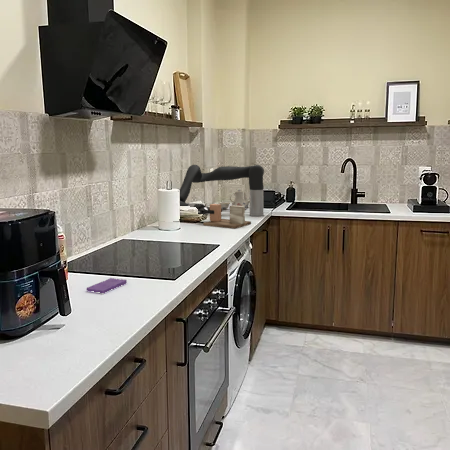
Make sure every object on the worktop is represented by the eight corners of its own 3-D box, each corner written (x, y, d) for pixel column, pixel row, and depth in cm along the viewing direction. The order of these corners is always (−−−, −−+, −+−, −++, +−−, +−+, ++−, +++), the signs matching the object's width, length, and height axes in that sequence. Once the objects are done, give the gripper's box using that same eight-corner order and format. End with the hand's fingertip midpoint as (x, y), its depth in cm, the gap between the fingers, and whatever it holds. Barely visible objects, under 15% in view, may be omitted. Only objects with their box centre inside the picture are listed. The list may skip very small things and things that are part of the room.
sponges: (127, 284, 161) (126, 279, 161) (102, 295, 150) (102, 290, 149) (111, 282, 164) (110, 277, 164) (86, 292, 153) (85, 287, 152)
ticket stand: (220, 220, 287) (220, 202, 285) (251, 223, 275) (251, 204, 273) (203, 225, 272) (203, 206, 270) (234, 228, 260) (234, 208, 258)
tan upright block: (213, 219, 281) (212, 203, 279) (221, 220, 278) (221, 204, 276) (209, 220, 278) (209, 204, 276) (218, 221, 275) (217, 205, 273)
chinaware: (245, 208, 351) (243, 186, 349) (259, 208, 337) (257, 186, 336) (215, 212, 335) (213, 189, 333) (228, 212, 321) (227, 188, 319)
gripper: (203, 213, 291) (224, 215, 282) (189, 217, 280) (211, 219, 271) (203, 202, 290) (224, 203, 281) (189, 204, 278) (211, 206, 269)
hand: (217, 211), depth 276 cm, fingers open, 8 cm apart
